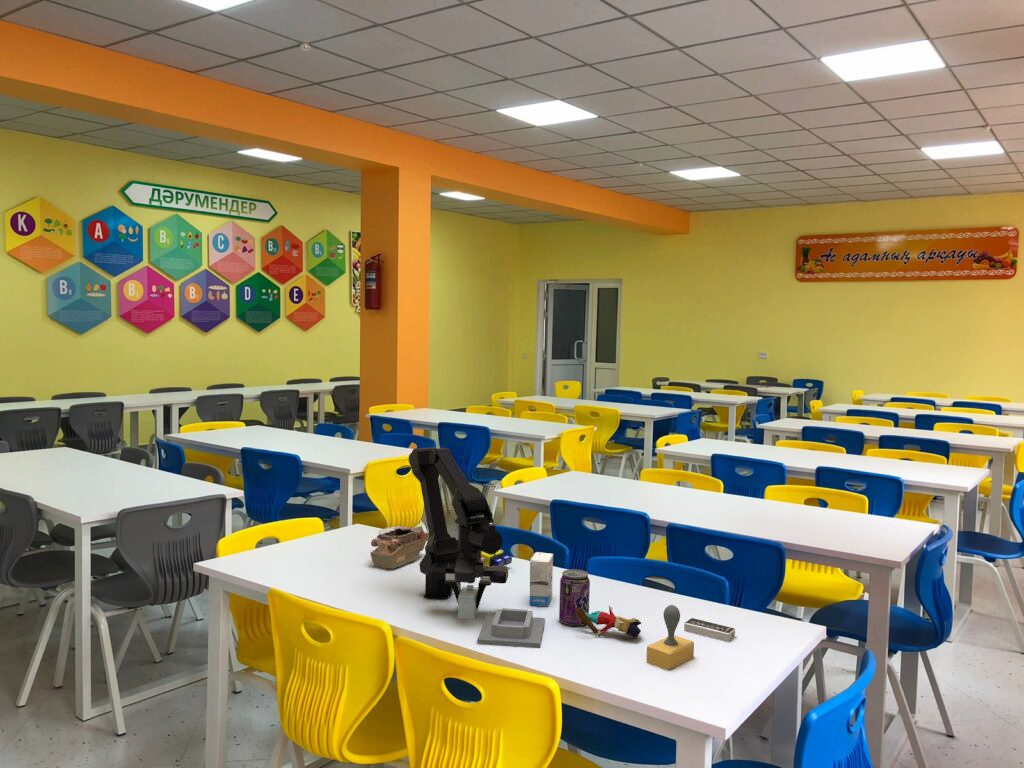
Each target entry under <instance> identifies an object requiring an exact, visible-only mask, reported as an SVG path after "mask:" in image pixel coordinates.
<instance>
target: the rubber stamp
mask: <svg viewBox="0 0 1024 768" xmlns="http://www.w3.org/2000/svg"><path fill="white" fill-rule="evenodd" d="M680 618H681V612H680V609H679V608H678V607H677V606H676V605H674V604H670V605H668V606H666V607H665V609H664V610H663V620H664V623H665V626H666V629H667V636H666V637H664V638H661V639H659V640H657V641H655V642H653V643H651V644H649V645H647V646H646V659H645V660H646V663H647V664H649V665H652V666H655V667H658V668H660V669H663V670H666V671H670V670H672V669H673V668H675V667H677V666H679V665H681V664H683V663H685V662H687V661H688V660H691V659H693V658H694V657H695V656H694V654H695V642H694V641H693V640H691V639H687V638H685V637H682V636H678V635H675V632H676V630H677V628H678V625H679V623H680V620H681V619H680Z"/></svg>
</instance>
